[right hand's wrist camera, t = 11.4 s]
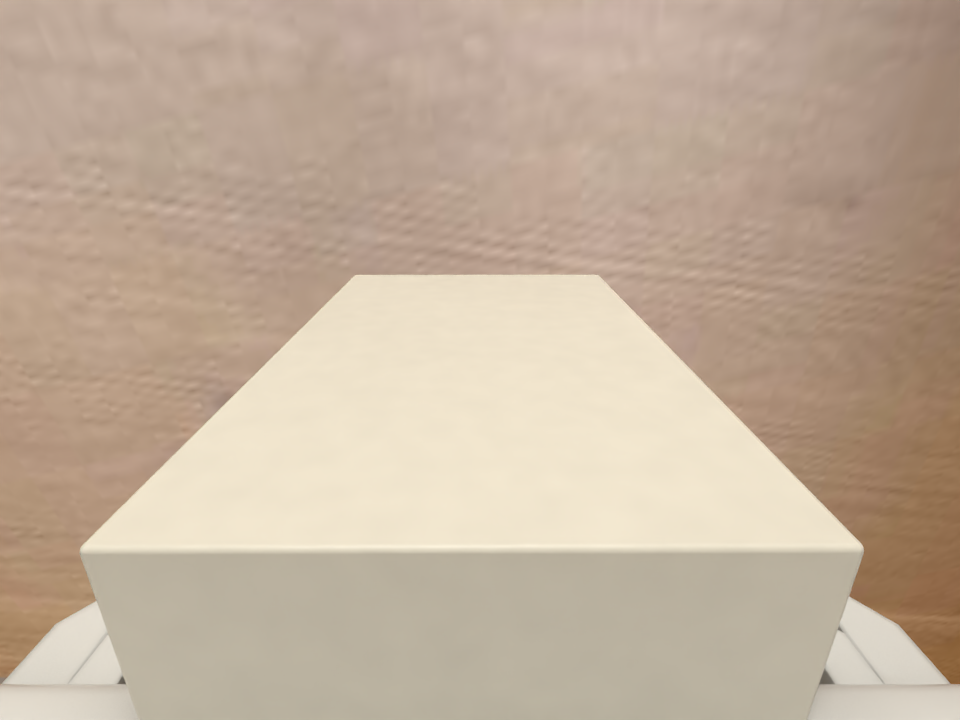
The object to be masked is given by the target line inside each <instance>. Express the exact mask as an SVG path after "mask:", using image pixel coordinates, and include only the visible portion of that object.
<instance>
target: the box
mask: <svg viewBox="0 0 960 720" xmlns="http://www.w3.org/2000/svg"><path fill="white" fill-rule="evenodd" d="M863 553H864V548H863V546H862V544H861V543H860V542H859V541H858V540H857V539H856V538H855V537H854V536H853V535H852V534H851V533H850V532H849V531H848V530H847V529H846V528H845V527H844V525H843V524H842V523H841V522H840V521H839V520H838V519H837V518H836V517H835V516H834V515H833V514H832V513H831V512H830V511H829V510H828V509H827V508H826V507H825V506H824V505H823V504H822V503H821V502H820V501H819V500H818V499H817V498H816V497H815V496H814V495H813V494H812V493H811V492H810V491H809V490H808V489H807V488H806V487H805V486H804V485H803V484H802V483H801V482H800V481H799V480H798V479H797V477H796V476H795V475H794V474H793V473H792V472H791V471H790V470H789V469H788V468H787V467H786V466H785V465H784V464H783V463H782V462H781V461H780V460H779V459H778V458H777V457H776V456H775V455H774V454H773V453H772V452H771V451H770V450H769V449H768V448H767V447H766V446H765V445H764V444H763V443H762V442H761V441H760V440H759V439H758V438H757V437H756V436H755V435H754V434H753V433H752V432H751V431H750V429H749V428H748V427H747V426H746V425H745V424H744V423H743V422H742V421H741V420H740V419H739V418H738V417H737V416H736V415H735V414H734V413H733V412H732V411H731V410H730V409H729V408H728V407H727V406H726V405H725V404H724V403H723V402H722V401H721V400H720V399H719V398H718V397H717V396H716V395H715V394H714V393H713V392H712V391H711V390H710V389H709V388H708V387H707V386H706V385H705V384H704V383H703V382H702V380H701V379H700V378H699V377H698V376H697V375H696V374H695V373H694V372H693V371H692V370H691V369H690V368H689V367H688V366H687V365H686V364H685V363H684V362H683V361H682V360H681V359H680V358H679V357H678V356H677V355H676V354H675V353H674V352H673V351H672V350H671V349H670V348H669V347H668V346H667V345H666V344H665V343H664V342H663V341H662V340H661V339H660V338H659V337H658V336H657V335H656V334H655V332H654V331H653V330H652V329H651V328H650V327H649V326H648V325H647V324H646V323H645V322H644V321H643V320H642V319H641V318H640V317H639V316H638V315H637V314H636V313H635V312H634V311H633V310H632V309H631V308H630V307H629V306H628V305H627V304H626V303H625V302H624V301H623V300H622V299H621V298H620V297H619V296H618V295H617V294H616V293H615V292H614V291H613V290H612V289H611V288H610V287H609V286H608V284H607V283H606V282H605V281H604V280H603V279H602V278H601V277H600V276H599V275H355V276H354V277H353V278H352V279H351V280H350V281H349V282H348V283H347V284H346V285H345V286H344V287H343V288H342V289H341V290H340V291H339V292H338V293H336V294H335V295H334V296H333V297H332V298H331V299H330V300H329V301H328V302H327V303H326V304H325V305H324V306H323V307H322V308H321V309H320V310H319V311H318V312H317V313H316V314H315V315H314V316H313V317H312V318H311V319H310V320H309V321H308V322H307V323H306V324H305V325H304V326H303V327H302V328H301V329H300V330H299V331H298V332H297V333H296V334H295V335H294V336H293V337H292V338H291V339H290V340H289V341H288V342H287V343H286V344H285V345H284V346H283V347H282V348H281V349H280V350H279V351H278V352H277V353H276V354H275V355H274V356H273V357H272V358H271V359H270V360H269V361H268V362H267V363H266V364H265V365H264V366H263V367H262V368H261V369H260V370H259V371H258V372H257V373H256V374H255V375H254V376H253V377H252V378H251V379H250V380H249V381H248V382H247V383H246V384H245V385H244V386H243V387H242V388H241V389H240V390H239V391H238V392H237V393H236V394H235V395H234V396H233V397H232V398H231V399H229V400H228V401H227V402H226V403H225V404H224V405H223V406H222V407H221V408H220V409H219V410H218V411H217V412H216V413H215V414H214V415H213V416H212V417H211V418H210V419H209V420H208V421H207V422H206V423H205V424H204V425H203V426H202V427H201V428H200V429H199V430H198V431H197V432H196V433H195V434H194V435H193V436H192V437H191V438H190V439H189V440H188V441H187V442H186V443H185V444H184V445H183V446H182V447H181V448H180V449H179V450H178V451H177V452H176V453H175V454H174V455H173V456H172V457H171V458H170V459H169V460H168V461H167V462H166V463H165V464H164V465H163V466H162V467H161V468H160V469H159V470H158V471H157V472H156V473H155V474H154V475H153V476H152V477H151V478H150V479H149V480H148V481H147V482H146V483H145V484H144V485H143V486H142V487H141V488H140V489H139V490H138V491H137V492H136V493H135V494H134V495H133V496H132V497H131V498H130V499H129V500H128V501H127V502H126V503H125V504H124V505H123V506H121V507H120V508H119V509H118V510H117V511H116V512H115V513H114V514H113V515H112V516H111V517H110V518H109V519H108V520H107V521H106V522H105V523H104V524H103V525H102V526H101V527H100V528H99V529H98V530H97V531H96V532H95V533H94V534H93V535H92V536H91V537H90V538H89V539H88V540H87V541H86V542H85V543H84V544H83V545H82V547H81V549H80V556H81V559H82V561H83V564H84V567H85V570H86V573H87V576H88V578H89V581H90V584H91V587H92V590H93V592H94V595H95V598H96V601H97V604H98V607H99V609H100V612H101V615H102V618H103V621H104V623H105V626H106V629H107V632H108V635H109V637H110V640H111V643H112V646H113V649H114V652H115V654H116V657H117V660H118V663H119V666H120V668H121V671H122V674H123V677H124V680H125V683H126V685H127V688H128V691H129V694H130V697H131V699H132V702H133V705H134V708H135V711H136V713H137V716H138V719H139V720H807V718H808V715H809V712H810V709H811V706H812V703H813V701H814V698H815V695H816V692H817V689H818V686H819V683H820V680H821V677H822V674H823V671H824V668H825V665H826V662H827V659H828V656H829V653H830V651H831V648H832V645H833V642H834V639H835V636H836V633H837V630H838V627H839V624H840V621H841V618H842V615H843V612H844V609H845V606H846V604H847V601H848V598H849V595H850V592H851V589H852V586H853V583H854V580H855V577H856V574H857V571H858V568H859V565H860V562H861V559H862V556H863Z"/></svg>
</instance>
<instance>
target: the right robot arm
mask: <svg viewBox="0 0 960 720" xmlns="http://www.w3.org/2000/svg"><path fill="white" fill-rule="evenodd" d="M0 720H139V719H138V716H137V713H136V711H135V708H134V705H133V702H132V699H131V697H130V694H129V691H128V688H127V685H126V683H125V680H124V677H123V674H122V671H121V668H120V666H119V663H118V660H117V657H116V654H115V652H114V649H113V646H112V643H111V640H110V637H109V635H108V632H107V629H106V626H105V623H104V621H103V618H102V615H101V612H100V609H99V607H98V604H97V601H95V602H94V603H92V604H90V605H88V606H87V607H85V608H83V609H81V610H80V611H78V612H76V613H74V614H72V615H71V616H69V617H67V618H65V619H64V620H62V621H60V622H58V623H57V624H55V625H54V627H53V628H52V629H51V630H50V631H49V632H48V633H47V634H46V635H45V637H44V638H43V639H42V640H41V641H40V642H39V643H38V644H37V645H36V646H35V648H34V649H33V650H32V651H31V652H30V653H29V654H28V655H27V656H26V658H25V659H24V660H23V661H22V662H21V663H20V664H19V665H18V666H17V667H16V669H15V670H14V671H13V672H12V673H11V674H10V675H9V676H8V677H7V679H6V680H5V681H4V682H3V683H2V684H0ZM807 720H960V684H950V683H949V682H948V680H947V679H946V678H945V677H944V676H943V675H942V674H941V672H940V671H939V670H938V669H937V668H936V667H935V666H934V665H933V663H932V662H931V661H930V660H929V659H928V658H927V657H926V656H925V654H924V653H923V652H922V651H921V650H920V649H919V648H918V646H917V645H916V644H915V643H914V642H913V641H912V640H911V639H910V637H909V636H908V635H907V634H906V633H905V632H904V631H903V630H902V628H901V627H900V626H899V625H898V624H896V623H894V622H893V621H891V620H889V619H887V618H886V617H884V616H882V615H880V614H879V613H877V612H875V611H873V610H872V609H870V608H868V607H866V606H865V605H863V604H861V603H860V602H858V601H856V600H854V599H853V598H851V597H849V598H848V601H847V604H846V606H845V609H844V612H843V615H842V618H841V621H840V624H839V627H838V630H837V633H836V636H835V639H834V642H833V645H832V648H831V651H830V653H829V656H828V659H827V662H826V665H825V668H824V671H823V674H822V677H821V680H820V683H819V686H818V689H817V692H816V695H815V698H814V701H813V703H812V706H811V709H810V712H809V715H808V718H807Z"/></svg>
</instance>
